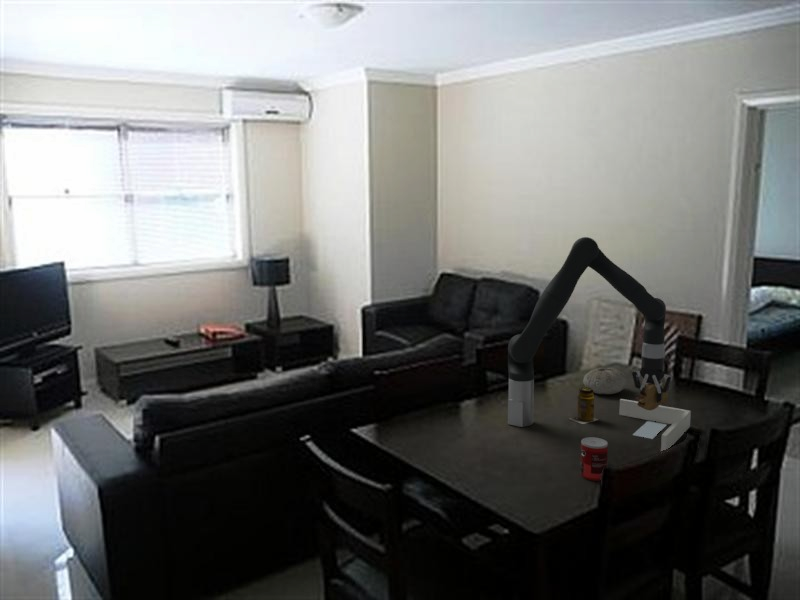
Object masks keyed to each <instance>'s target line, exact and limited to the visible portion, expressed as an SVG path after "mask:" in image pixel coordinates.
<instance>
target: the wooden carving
mask: <svg viewBox="0 0 800 600" xmlns="http://www.w3.org/2000/svg"><path fill="white" fill-rule="evenodd" d="M664 386H665V383H664V382H662V388H664ZM657 393H658V391H657V388H656V386H655V384H653V383H647V385H646V386H645V387H643V388H642V390H641V395H639V396H637V397H635V401H637V402H638V404H637V405H638V406H639V407H642V408H644V409H646V410H653V409H655V408H657V407H658V406H659V405H660V406H664V405H665V403H666V401H667V398H668V396H669V392H668V391H667V392H665V393H664V392H663V394H662V401H661V402H660V403H657Z"/></svg>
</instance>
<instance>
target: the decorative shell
mask: <svg viewBox="0 0 800 600" xmlns="http://www.w3.org/2000/svg"><path fill="white" fill-rule="evenodd" d="M582 378H583V381H582V383H583V384H584V387H589V388H592V389H593V394H598V395H614V394H619V392H621V391H623V390H624V388H626V386H627V385H628V380H627V377H626V375H625V374H624V373H623V372H622V371H620V370H619V369H616V368H614V367H613V368H612V367H596V368H593V369H591V370H590V371H588V372H586V373H585V375H584V376H582Z"/></svg>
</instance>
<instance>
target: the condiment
mask: <svg viewBox="0 0 800 600" xmlns="http://www.w3.org/2000/svg"><path fill="white" fill-rule="evenodd" d="M576 406H577V409H576V410H577V412H576V413H577V414H576V416H573V417H569V418H568V419H569V420H571V421H573V422H576V423H579V424H580V425H586V424H588V423H593V422H596V421H599V419H597V418H595V415H594V414H595V396H594V392H593V389H592V388H589V387H586V386H582V387H579V388H578V395H577V405H576ZM576 418H577V419H576Z"/></svg>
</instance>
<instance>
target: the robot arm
mask: <svg viewBox="0 0 800 600" xmlns="http://www.w3.org/2000/svg"><path fill="white" fill-rule="evenodd" d="M567 255H568V256H567V258H566V259H565V261H564V263H563V264H562V266H561V268H560V269H559V270H558V272H557V273H556V274H555V276H553V278H551V280H550V282H549V283H548V285H547V286H546V287H545V288H544V290H543V292H542V293H541V295H540V296H539V298H538V300H537V302H536V304H535V306H534V309H533V311H532V314H531V316H530V319H529V322H528V323H527V325H526V327H525V328H524V329H523V331H522V332H521V333H518V334H516V335H514V336H512V337H511V338H510V339H509V342H508V346H507V369H508V370H507V371H508V400H507V425H511V426H514V427H519V428H520V427H521V428H524V427H528V426H532V425H533V424H534V408H535V407H534V400H535V399H534V394H535V393H534V391H535V390H534V389H535V371H534V357H535V355H536V353H537V351H538V350H539V346H540V345H541V343H542V341H543V339H544V337H545V336H546V334H547V333H548V331H549V330H550V328H551V327H552V326H553V324H554V323H555V321H556V320H557V319H558V317H559V315H560V314H561V313H562V312H563V309H565V307H566V305H567V304H568V302H569V300H570V298H571V297H572V294H573V293H574V291H575V289H576V286H577V285H578V282H579V280H580V279H581V277H582V276H583V274H584V273H585V271H586V270H587V269H588V267H589V268H590V269H591V270H593V271H595V273H597V274H599V276H601V277H602V278H603V279H605V280H606V281H607V283H608V284H610V285H611V286H612V288H614V289H615V290H616V291H617V292H618V293H619V294H621V296H623V297H624V298H625V299H627V300H628V301H629V302H630V303H632V304H633V306H634V307H635V308H637V310H638V311H639V312H640V313H641V314H642V315H643V316H644V327H643V333H642V334H643V335H642V346H641V363H640V364H641V365H640V367H641V368H640V370H634V371H632V372H631V375H632V379H633V383H634V387H635V388H636V389H639V391H640V395H641V390H642V388H643V387H645V386H646V385H648V384H649V383H653V384H655V386H656V388H657V391H658V393H657V403H660V402H661V401H662V394H663V392H664V393H665V392H668V391H669V389H670V387H671V383H672V381H673V375H668V374H666V373H665V355H666V354H665V352H666V350H665V321H666V312H667V308H666V307H667V306H666V304H665V302H664V300H662V299H661V298H658V297H654V296H653V295H652V294H650V293H649V291H647V289H646V287H644V285H643V284H641V283H640V282H639V281H638V280H637V279H636V278H634V277H633V276H632V275H630V274H629V273H628V272H626V271H625V270H624V269H622V268H621V267H619V266H618V265H617V264H616V263H614V262H613V261H612V260H611V259H610V258H609V257H607V255H605V254H604V252H603V251H602V250H601V249H600V247H599V245H598V243H597V241H596V240H594V239H593V238H591V237H588V236H584V237H581V238H580V237H579V238H578V239H576V240H575V242H574V243H573V244H572V247H571V249H570V250H569V252H568V254H567ZM640 377H642V382H641V380H640ZM663 378H664V381H665V383H664V388H662V383H663V382H662V380H663ZM640 395H639V396H640Z"/></svg>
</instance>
